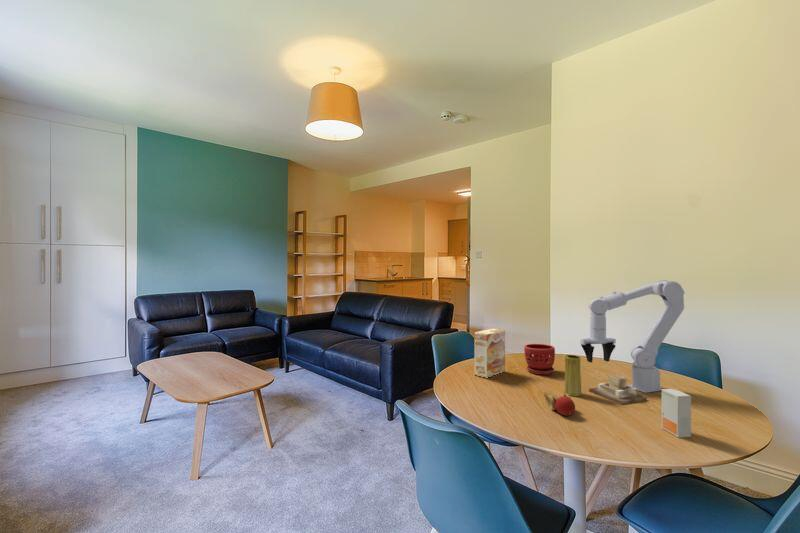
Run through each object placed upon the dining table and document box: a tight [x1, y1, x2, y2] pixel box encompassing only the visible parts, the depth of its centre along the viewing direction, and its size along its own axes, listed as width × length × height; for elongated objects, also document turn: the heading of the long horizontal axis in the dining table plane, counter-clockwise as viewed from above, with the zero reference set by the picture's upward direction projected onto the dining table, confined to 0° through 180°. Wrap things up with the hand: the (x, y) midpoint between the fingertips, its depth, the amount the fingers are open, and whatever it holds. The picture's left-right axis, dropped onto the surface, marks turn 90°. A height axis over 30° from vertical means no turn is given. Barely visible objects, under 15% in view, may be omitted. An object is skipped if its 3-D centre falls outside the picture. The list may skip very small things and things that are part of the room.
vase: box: [563, 354, 582, 397], centre depth 137 cm, size 6×6×14 cm
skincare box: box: [660, 388, 692, 439], centre depth 105 cm, size 6×4×12 cm
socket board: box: [588, 381, 647, 405], centre depth 135 cm, size 12×14×4 cm
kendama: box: [543, 389, 576, 417], centre depth 124 cm, size 8×6×18 cm
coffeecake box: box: [473, 328, 506, 379], centre depth 162 cm, size 15×7×20 cm, turn 132°
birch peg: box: [608, 374, 628, 390], centre depth 134 cm, size 4×4×6 cm
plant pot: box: [523, 343, 556, 375], centre depth 165 cm, size 13×13×12 cm
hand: (598, 361), depth 147 cm, fingers open, 7 cm apart
